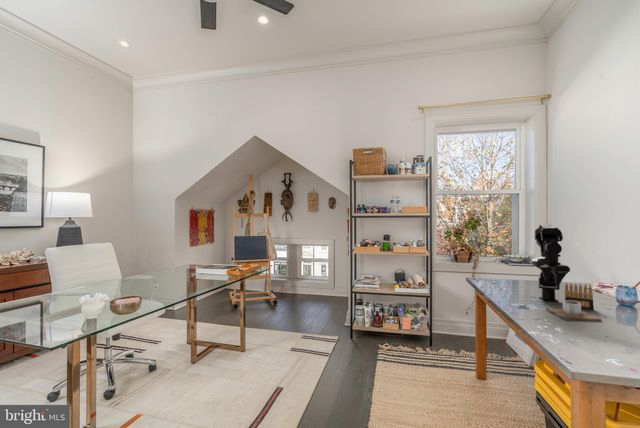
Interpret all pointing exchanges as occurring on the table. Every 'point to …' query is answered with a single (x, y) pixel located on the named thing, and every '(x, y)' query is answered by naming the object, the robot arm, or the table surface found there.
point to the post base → (582, 317)
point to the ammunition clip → (580, 296)
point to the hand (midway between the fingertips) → (551, 283)
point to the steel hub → (572, 308)
